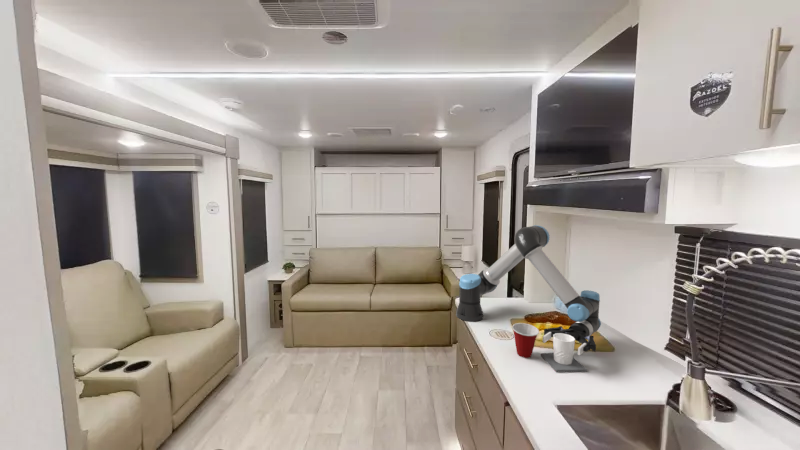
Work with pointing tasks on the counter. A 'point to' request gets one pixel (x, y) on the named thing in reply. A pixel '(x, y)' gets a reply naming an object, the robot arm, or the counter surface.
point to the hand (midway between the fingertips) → (560, 345)
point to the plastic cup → (524, 338)
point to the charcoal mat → (563, 368)
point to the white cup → (563, 348)
